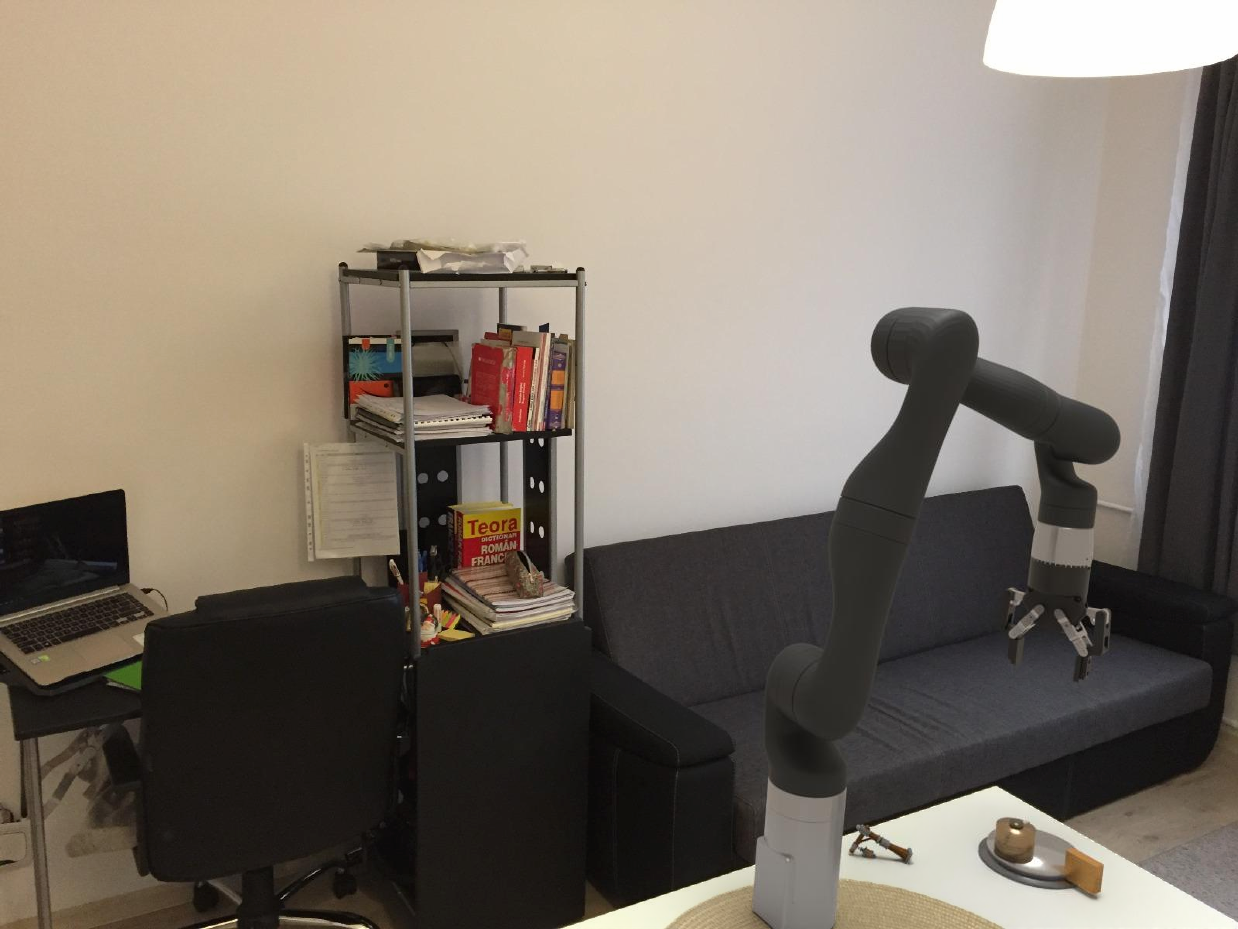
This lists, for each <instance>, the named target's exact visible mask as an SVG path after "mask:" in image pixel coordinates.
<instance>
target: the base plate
mask: <svg viewBox="0 0 1238 929" xmlns="http://www.w3.org/2000/svg"><path fill="white" fill-rule="evenodd" d="M987 837H988V836H986V837H983V839H982V840H981V841H980V842H979V844H978V850H977V852H978V856H979V857H980V859H981V861H982V863H984V864H985V865H986V866H987V867H988V868H989V869H991V870H993V871H994V872H995V873H997V874H999V875H1001V876H1002V877H1004V878H1006V879H1008V880H1011V881H1014V882H1016V883H1020V884H1023V885H1026V886H1030V887H1035V888H1039V889H1045V890H1067V889H1073V888H1076V887H1077V888H1078V886H1077V885H1075V884H1074V883H1072V882H1070V881H1069V880H1067V879H1063V880H1044V879H1037V878H1033V877H1028V876H1025V875H1022V874H1019V873H1016V872H1014V871H1011V870H1009V869H1007V868H1005V867H1003V866H1002V865H1000V864H999V863H997V862H996V861H995V860H994V859H993V858H992V857H991V856H990V855H989V854H988V852H987V848H986V846H987Z"/></svg>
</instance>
